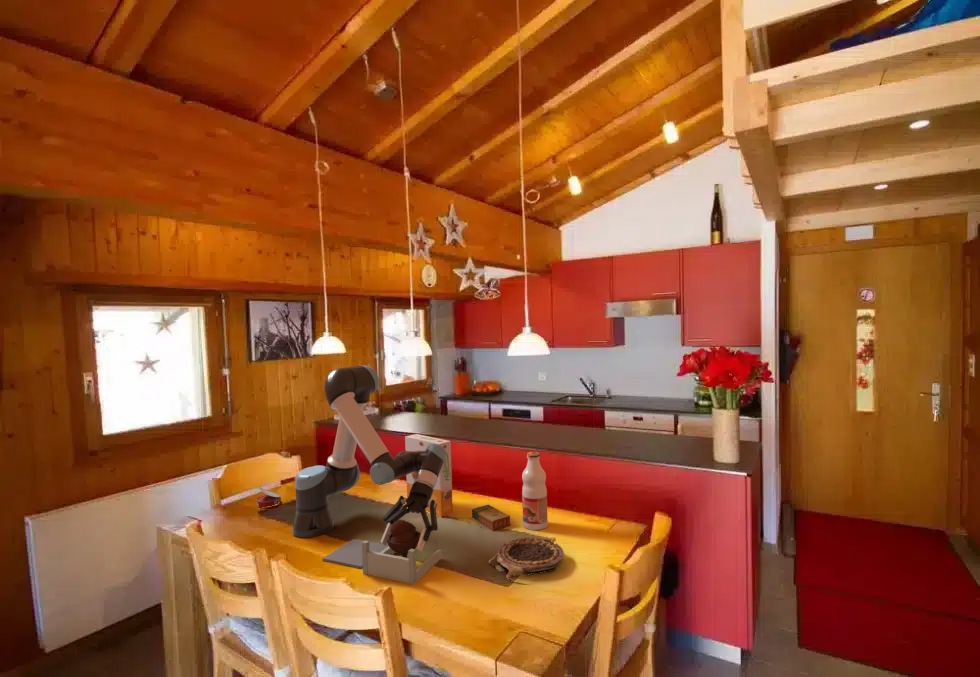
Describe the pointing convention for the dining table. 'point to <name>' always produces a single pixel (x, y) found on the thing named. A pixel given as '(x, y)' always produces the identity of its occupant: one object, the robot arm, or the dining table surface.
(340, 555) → the slate mat
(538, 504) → the fruit juice
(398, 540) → the ice cream bowl
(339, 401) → the robot arm
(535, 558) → the pie
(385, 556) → the open crate
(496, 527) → the carton
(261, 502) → the canned food
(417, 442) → the cereal box
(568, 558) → the dining table surface
